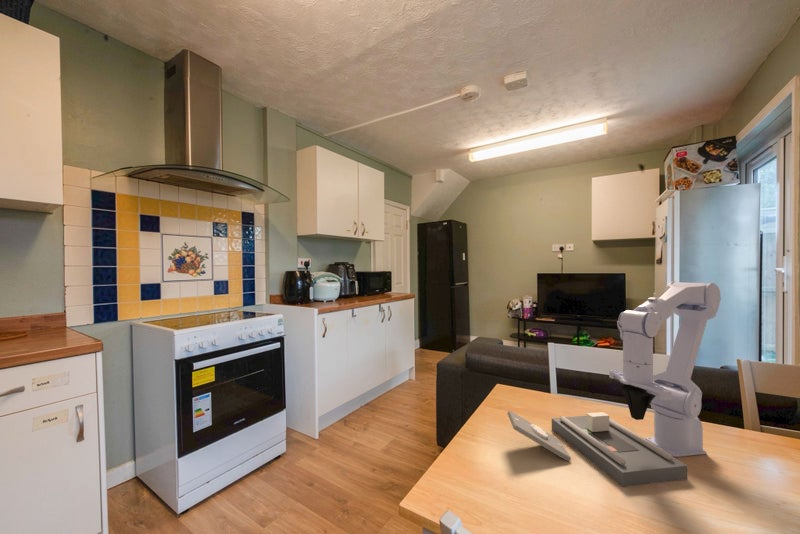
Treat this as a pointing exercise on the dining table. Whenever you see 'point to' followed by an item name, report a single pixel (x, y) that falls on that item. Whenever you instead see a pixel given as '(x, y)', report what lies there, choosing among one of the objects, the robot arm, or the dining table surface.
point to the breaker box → (621, 455)
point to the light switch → (538, 435)
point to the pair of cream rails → (624, 430)
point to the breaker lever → (598, 422)
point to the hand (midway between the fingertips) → (637, 418)
